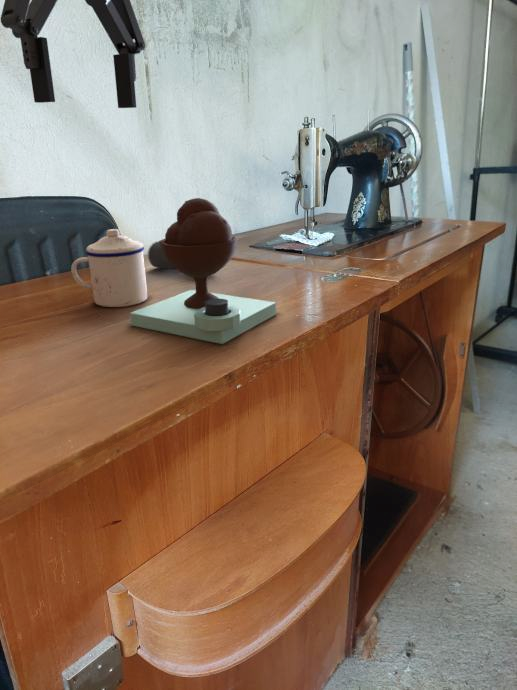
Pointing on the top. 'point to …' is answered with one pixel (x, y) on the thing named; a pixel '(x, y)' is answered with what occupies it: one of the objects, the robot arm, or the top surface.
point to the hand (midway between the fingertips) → (89, 105)
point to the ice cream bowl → (199, 246)
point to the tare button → (217, 307)
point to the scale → (203, 317)
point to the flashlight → (158, 257)
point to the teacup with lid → (115, 271)
